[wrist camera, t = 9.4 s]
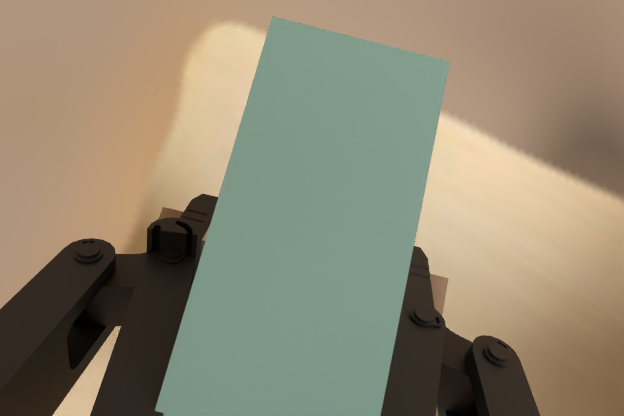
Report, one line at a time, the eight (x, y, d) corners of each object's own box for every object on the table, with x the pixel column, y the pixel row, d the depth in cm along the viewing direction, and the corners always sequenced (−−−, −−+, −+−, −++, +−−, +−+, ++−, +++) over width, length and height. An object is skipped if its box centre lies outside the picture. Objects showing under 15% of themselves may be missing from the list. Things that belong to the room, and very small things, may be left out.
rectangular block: (353, 202, 24) (450, 61, 10) (307, 403, 22) (349, 573, 8) (278, 183, 24) (272, 15, 10) (224, 382, 22) (122, 517, 8)
